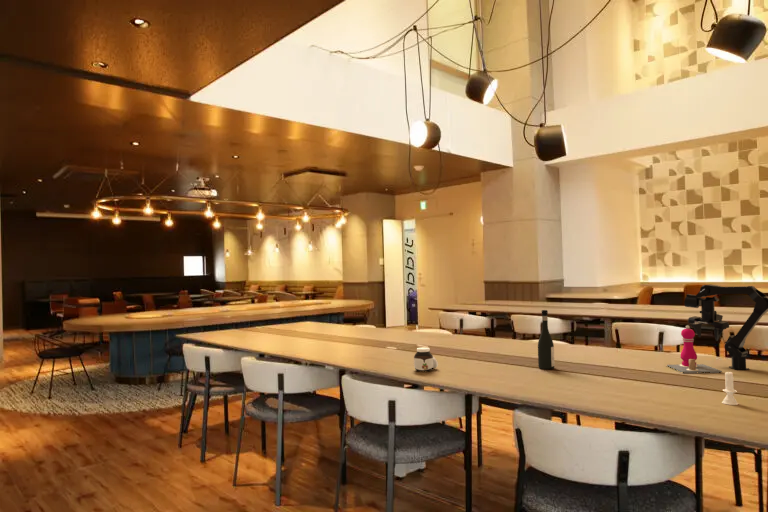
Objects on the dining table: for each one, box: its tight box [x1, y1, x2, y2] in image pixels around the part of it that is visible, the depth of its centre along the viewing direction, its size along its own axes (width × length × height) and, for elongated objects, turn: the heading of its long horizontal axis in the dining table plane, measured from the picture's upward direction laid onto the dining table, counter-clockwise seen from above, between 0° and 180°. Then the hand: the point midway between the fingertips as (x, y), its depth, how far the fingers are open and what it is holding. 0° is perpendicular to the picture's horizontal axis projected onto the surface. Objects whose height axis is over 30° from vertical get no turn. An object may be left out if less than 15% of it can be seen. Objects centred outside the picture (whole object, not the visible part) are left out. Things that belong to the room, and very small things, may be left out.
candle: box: [721, 371, 739, 406], centre depth 200 cm, size 5×5×12 cm
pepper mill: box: [680, 324, 698, 367], centre depth 266 cm, size 7×7×20 cm
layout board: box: [666, 359, 723, 374], centre depth 261 cm, size 17×18×6 cm
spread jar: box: [413, 346, 439, 372], centre depth 279 cm, size 12×11×12 cm
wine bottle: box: [537, 309, 555, 370], centre depth 275 cm, size 8×8×30 cm
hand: (708, 338), depth 273 cm, fingers open, 9 cm apart
